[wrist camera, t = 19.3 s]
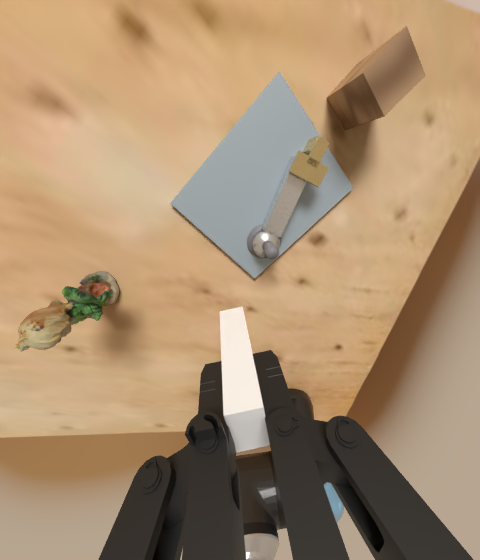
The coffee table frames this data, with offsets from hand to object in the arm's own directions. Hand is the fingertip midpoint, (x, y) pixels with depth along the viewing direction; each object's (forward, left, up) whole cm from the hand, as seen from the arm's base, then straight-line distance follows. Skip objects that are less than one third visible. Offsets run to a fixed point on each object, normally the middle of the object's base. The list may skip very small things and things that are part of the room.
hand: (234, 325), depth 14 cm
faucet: (-4, -9, -23) cm, 25 cm away
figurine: (+9, +21, -25) cm, 34 cm away
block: (0, -26, -25) cm, 36 cm away
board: (0, -9, -24) cm, 26 cm away
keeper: (-1, -16, -24) cm, 29 cm away
